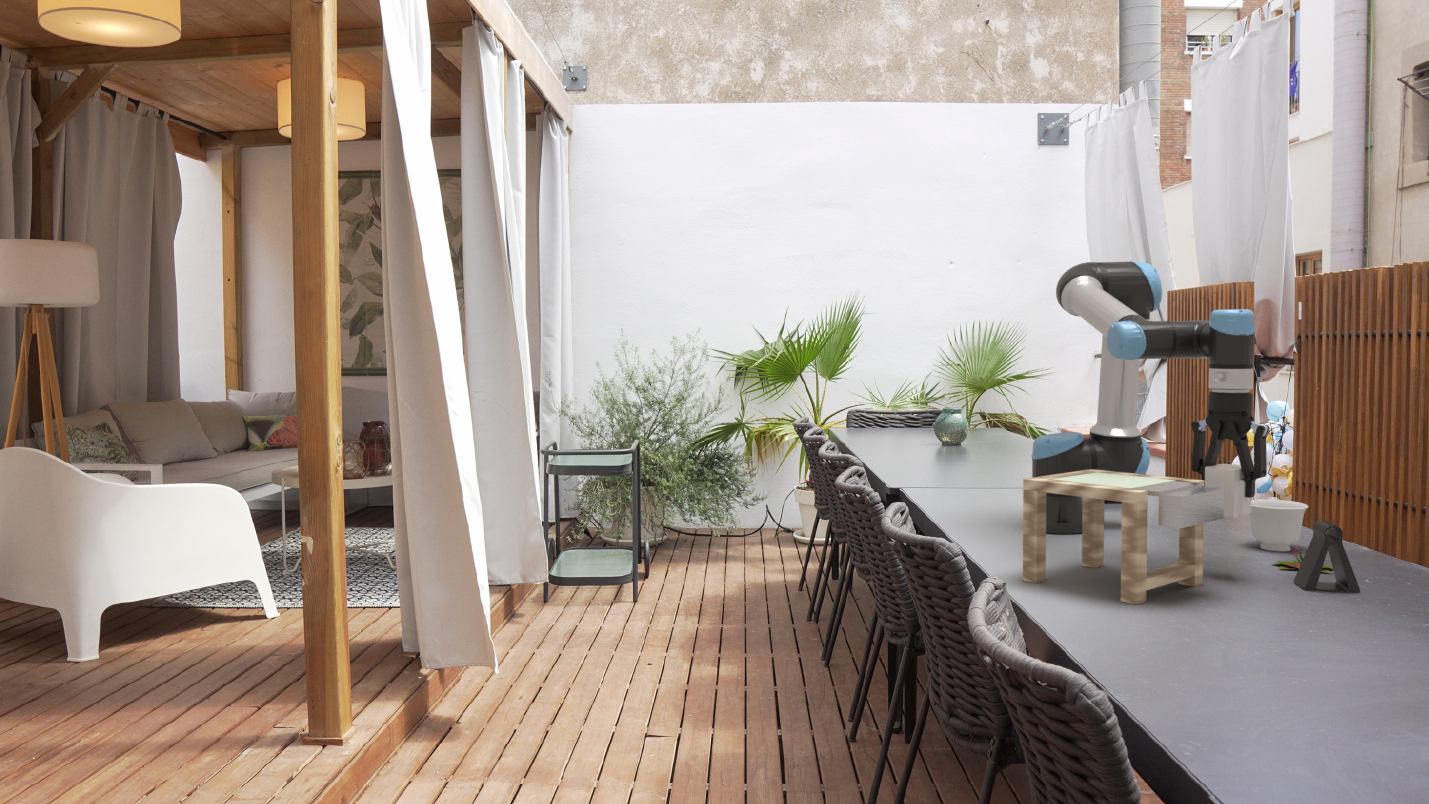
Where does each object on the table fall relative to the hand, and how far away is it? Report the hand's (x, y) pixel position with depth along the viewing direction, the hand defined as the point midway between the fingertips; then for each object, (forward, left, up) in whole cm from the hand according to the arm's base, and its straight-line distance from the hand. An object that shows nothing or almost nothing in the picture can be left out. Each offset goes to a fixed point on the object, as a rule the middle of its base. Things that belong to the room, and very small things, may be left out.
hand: (1227, 511), depth 186 cm
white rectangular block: (0, 0, 0) cm, 0 cm away
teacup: (-7, +36, -13) cm, 39 cm away
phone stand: (+15, +6, -13) cm, 21 cm away
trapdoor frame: (-12, -20, -13) cm, 27 cm away
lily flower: (+6, +20, -14) cm, 25 cm away
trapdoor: (-7, -20, +1) cm, 21 cm away
